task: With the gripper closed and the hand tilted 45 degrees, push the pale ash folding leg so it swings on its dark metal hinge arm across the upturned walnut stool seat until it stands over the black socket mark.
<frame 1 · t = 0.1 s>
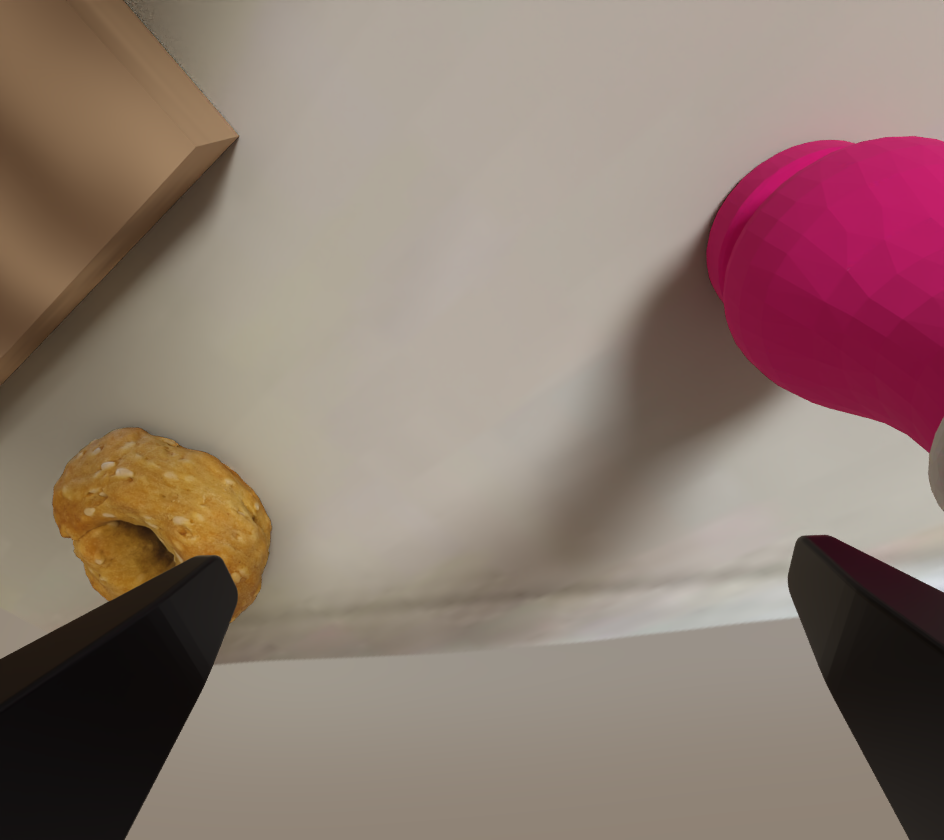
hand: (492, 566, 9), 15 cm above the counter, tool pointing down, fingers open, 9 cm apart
pepper mill: (796, 237, 20), on the counter
bagel: (187, 504, 30), on the counter
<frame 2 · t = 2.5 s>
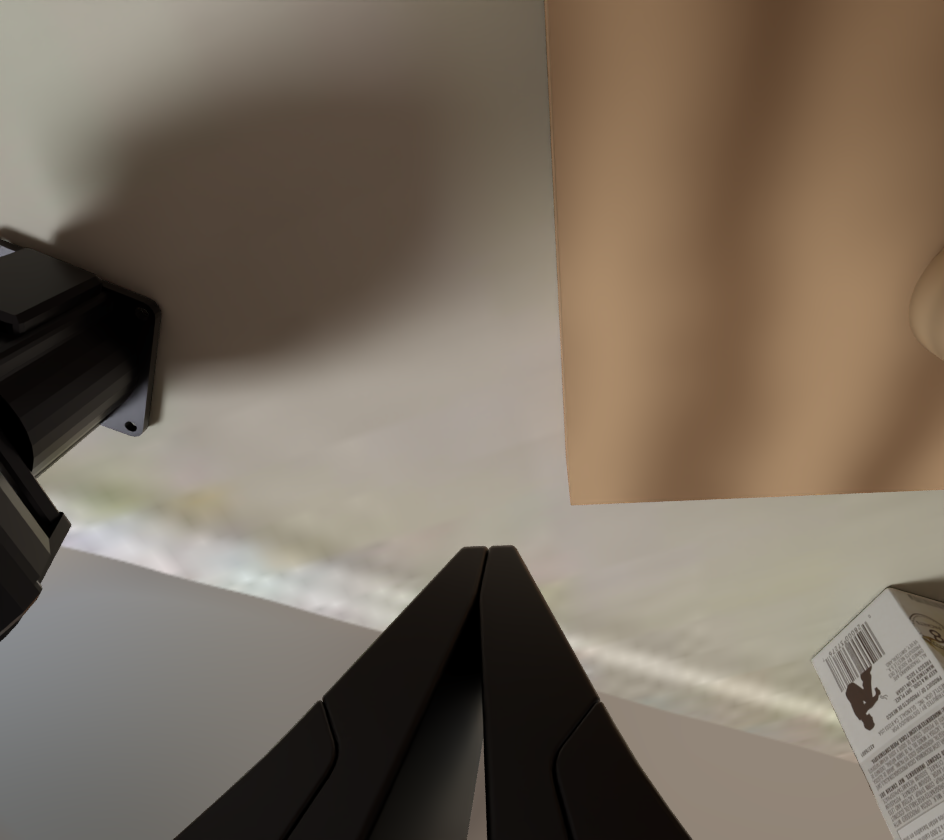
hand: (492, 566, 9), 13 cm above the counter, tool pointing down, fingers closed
stool seat: (937, 127, 16), on the counter
coffee box: (923, 643, 28), on the counter
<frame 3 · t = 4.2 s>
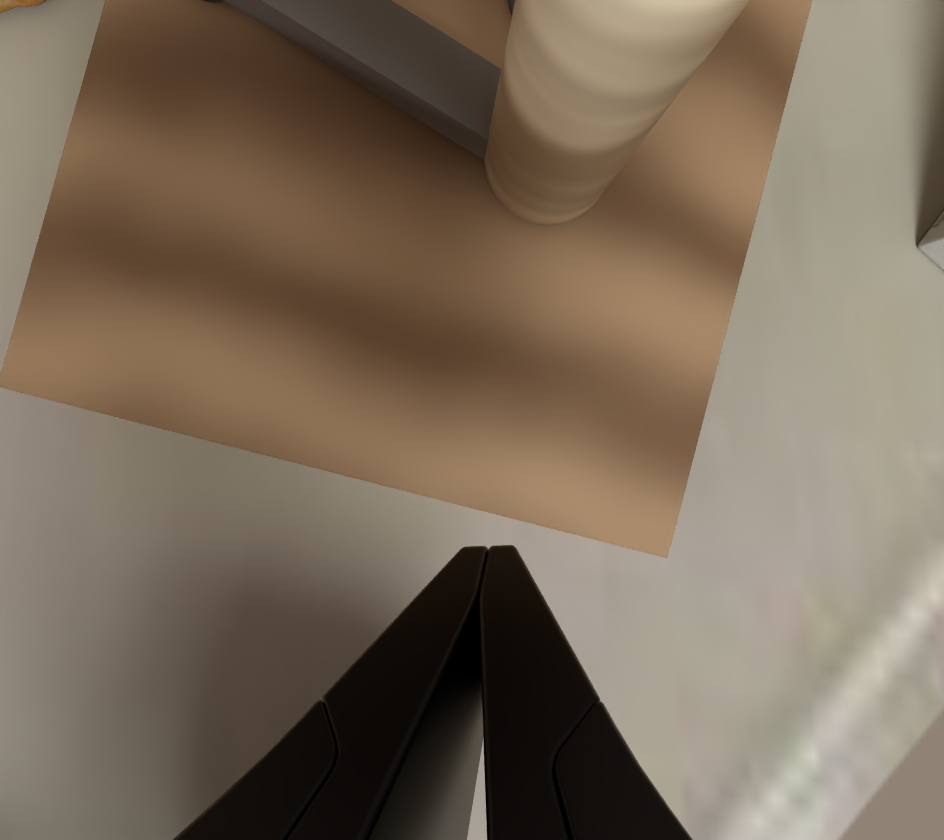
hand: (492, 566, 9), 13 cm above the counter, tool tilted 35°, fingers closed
stool seat: (434, 186, 21), on the counter
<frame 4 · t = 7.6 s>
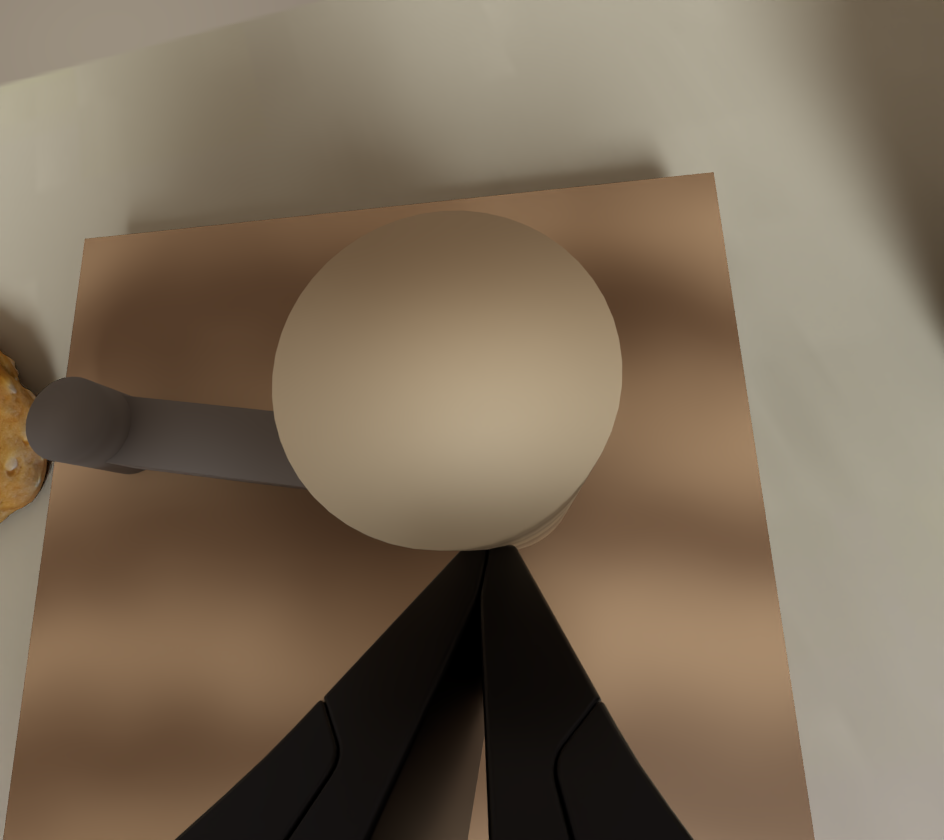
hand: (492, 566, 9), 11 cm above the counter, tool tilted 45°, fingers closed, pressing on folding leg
stool seat: (402, 537, 20), on the counter
folding leg: (230, 421, 12), point 8 cm above the counter, hinge at 24.4°, touching gripper
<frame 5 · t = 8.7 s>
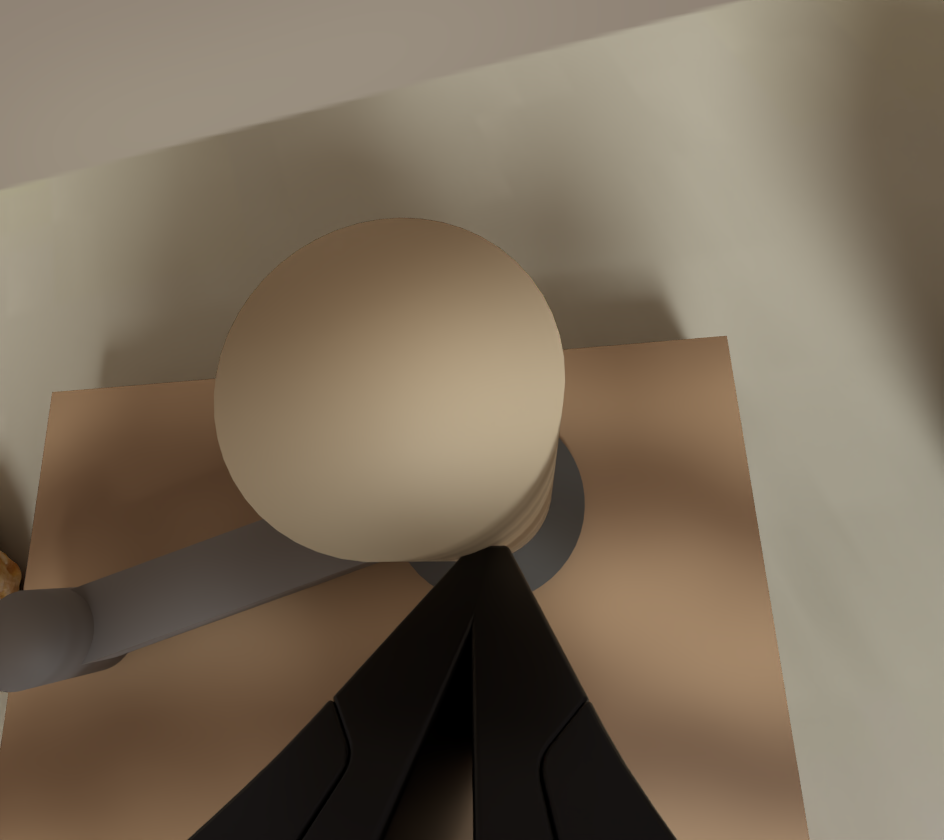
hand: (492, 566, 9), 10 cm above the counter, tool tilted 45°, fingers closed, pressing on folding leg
stool seat: (394, 719, 18), on the counter
folding leg: (195, 552, 11), point 8 cm above the counter, hinge at -1.6°, touching gripper
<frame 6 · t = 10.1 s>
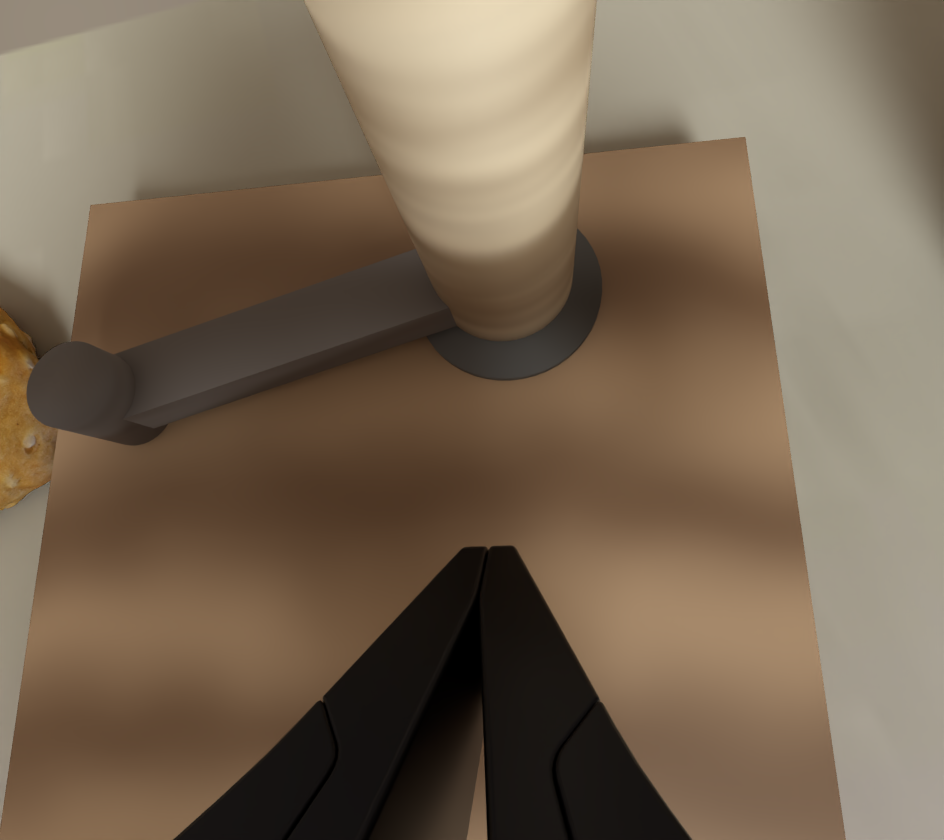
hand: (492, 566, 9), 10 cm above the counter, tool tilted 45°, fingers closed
stool seat: (413, 516, 19), on the counter
folding leg: (239, 258, 12), point 8 cm above the counter, hinge at -0.8°
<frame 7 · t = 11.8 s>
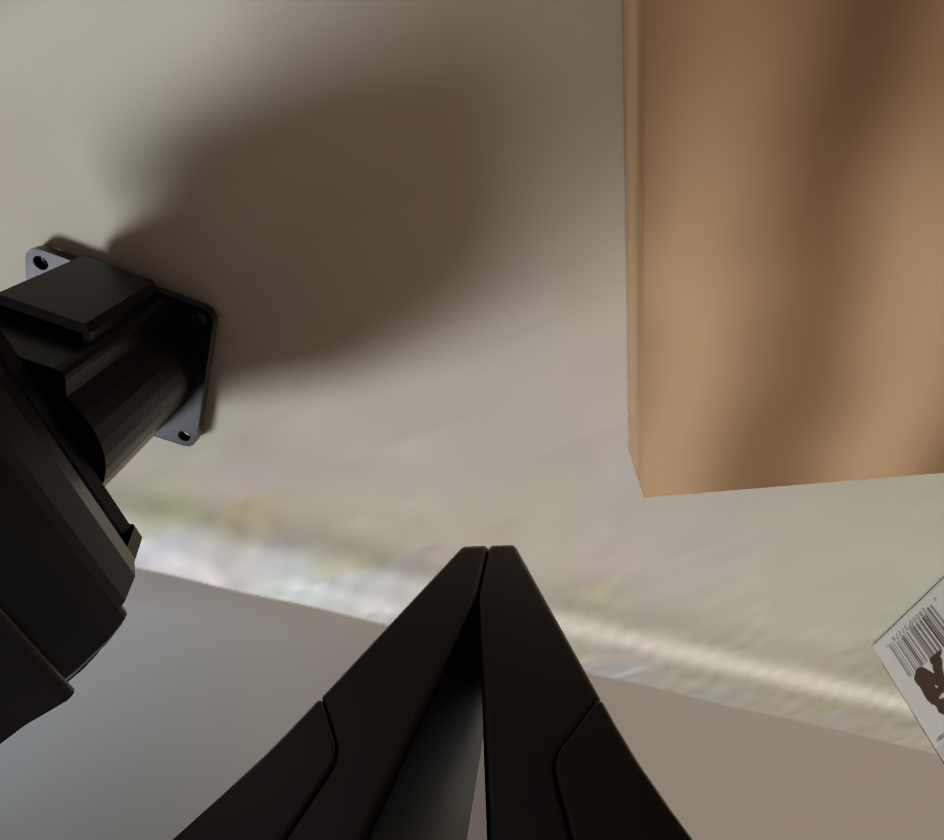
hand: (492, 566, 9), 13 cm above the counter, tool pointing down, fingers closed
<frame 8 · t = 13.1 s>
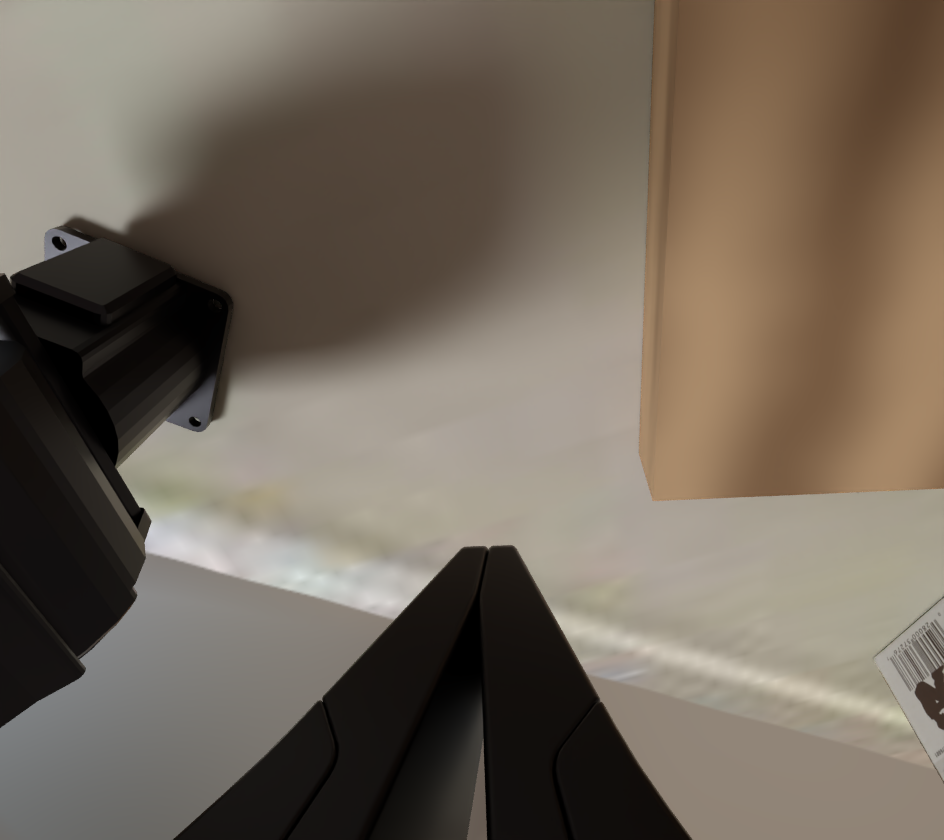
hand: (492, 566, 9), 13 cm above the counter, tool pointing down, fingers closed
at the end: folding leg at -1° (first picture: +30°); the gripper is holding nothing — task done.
